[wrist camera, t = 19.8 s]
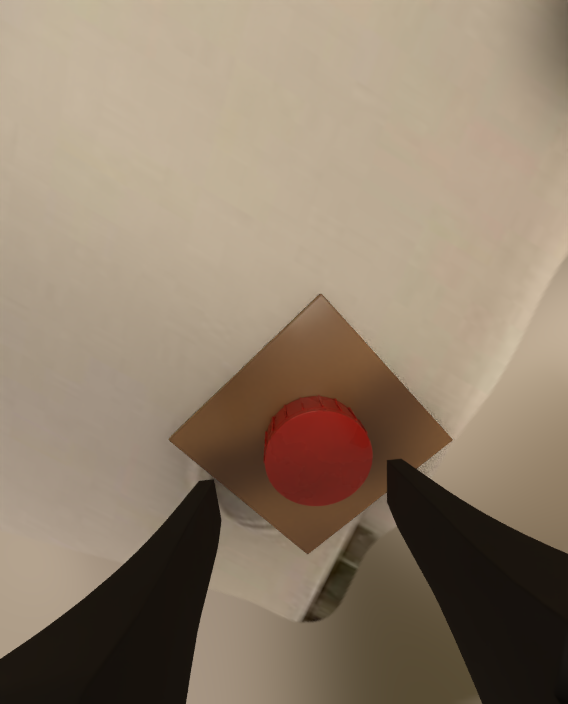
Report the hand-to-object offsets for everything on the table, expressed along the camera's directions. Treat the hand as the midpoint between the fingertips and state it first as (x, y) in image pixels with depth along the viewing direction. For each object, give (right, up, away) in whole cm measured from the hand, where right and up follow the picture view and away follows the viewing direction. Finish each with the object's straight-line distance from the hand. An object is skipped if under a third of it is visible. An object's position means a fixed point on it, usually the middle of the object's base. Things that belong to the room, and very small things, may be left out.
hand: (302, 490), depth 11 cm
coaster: (+1, +1, +4) cm, 4 cm away
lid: (+1, +1, +2) cm, 2 cm away
